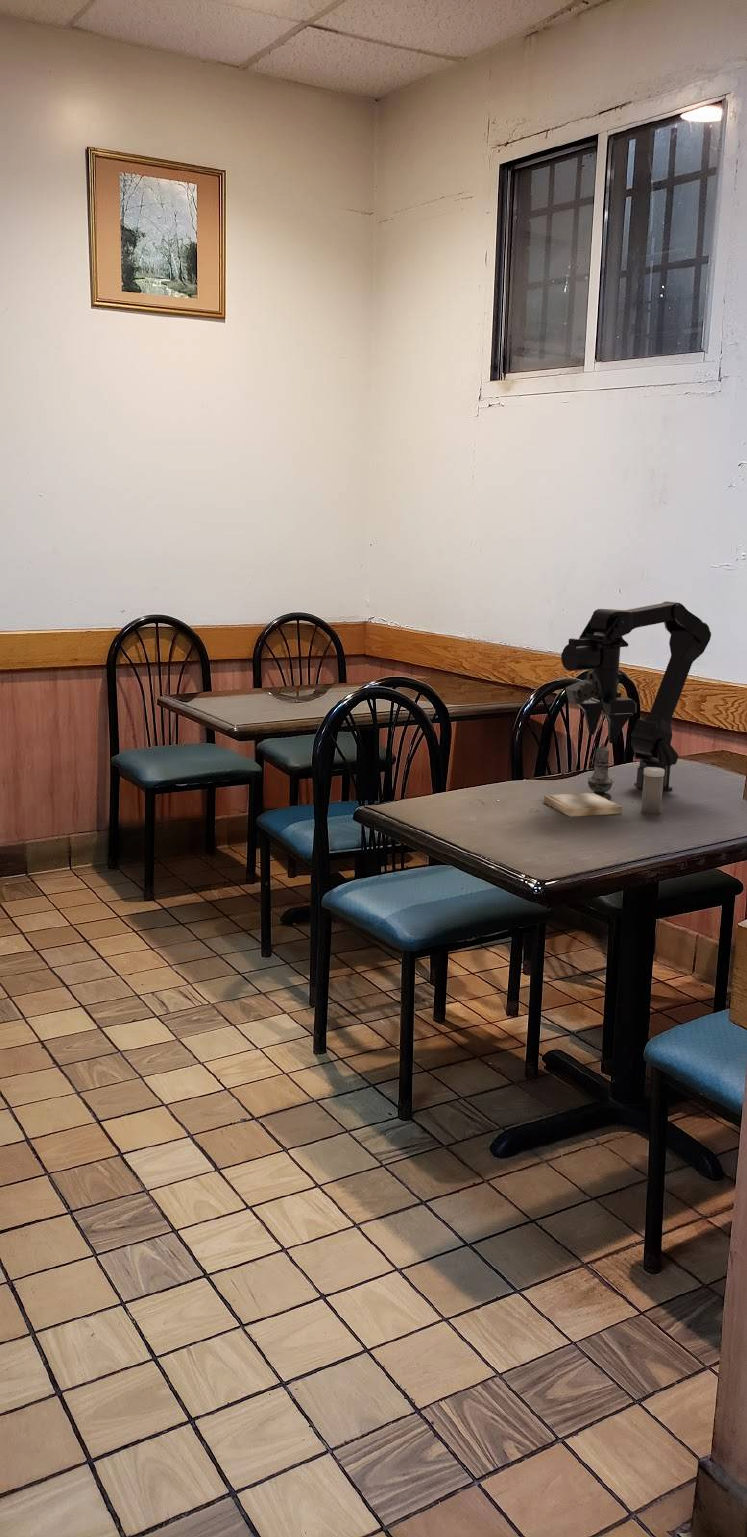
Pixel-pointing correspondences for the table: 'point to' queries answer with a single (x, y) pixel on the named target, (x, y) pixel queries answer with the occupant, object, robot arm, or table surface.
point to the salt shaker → (601, 773)
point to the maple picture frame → (582, 804)
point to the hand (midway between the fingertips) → (601, 738)
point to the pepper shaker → (652, 790)
